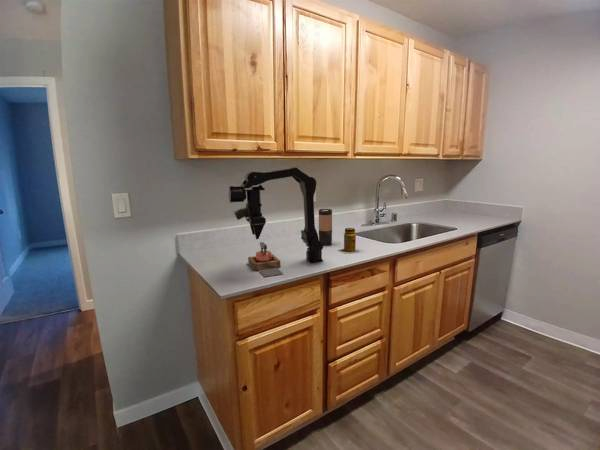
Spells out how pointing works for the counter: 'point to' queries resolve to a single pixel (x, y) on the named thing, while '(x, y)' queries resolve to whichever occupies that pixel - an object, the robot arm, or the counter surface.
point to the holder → (264, 263)
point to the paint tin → (263, 254)
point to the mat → (270, 272)
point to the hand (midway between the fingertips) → (255, 236)
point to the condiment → (349, 241)
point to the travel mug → (325, 226)
